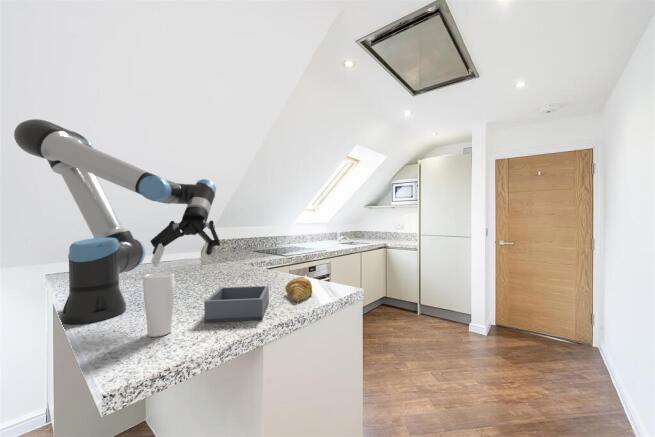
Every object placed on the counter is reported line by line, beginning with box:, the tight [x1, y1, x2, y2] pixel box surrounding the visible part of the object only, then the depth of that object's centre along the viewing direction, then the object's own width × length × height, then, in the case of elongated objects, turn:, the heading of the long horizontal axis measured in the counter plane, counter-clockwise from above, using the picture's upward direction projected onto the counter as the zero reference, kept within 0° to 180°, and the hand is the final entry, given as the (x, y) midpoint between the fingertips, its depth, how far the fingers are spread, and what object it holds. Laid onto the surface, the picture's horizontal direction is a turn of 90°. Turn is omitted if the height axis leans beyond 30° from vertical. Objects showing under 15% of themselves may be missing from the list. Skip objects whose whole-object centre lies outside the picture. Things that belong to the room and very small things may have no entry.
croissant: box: [284, 276, 313, 302], centre depth 104 cm, size 21×10×8 cm, turn 1°
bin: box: [203, 285, 270, 324], centre depth 85 cm, size 16×16×6 cm
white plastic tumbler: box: [142, 272, 175, 338], centre depth 70 cm, size 7×7×15 cm
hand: (178, 263), depth 80 cm, fingers open, 13 cm apart
